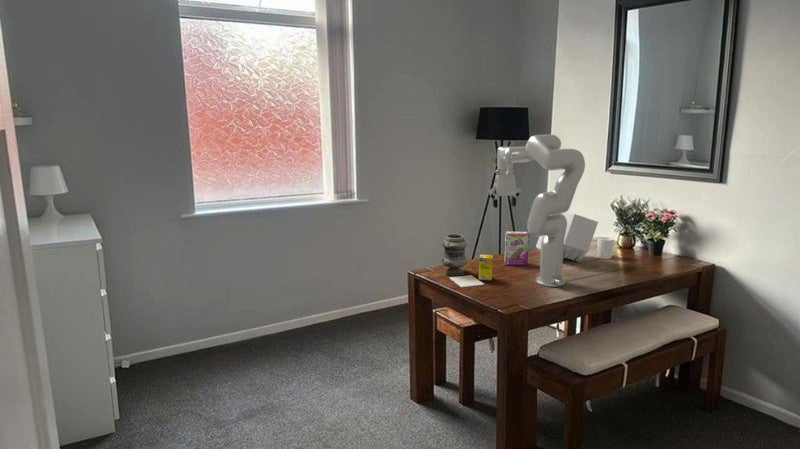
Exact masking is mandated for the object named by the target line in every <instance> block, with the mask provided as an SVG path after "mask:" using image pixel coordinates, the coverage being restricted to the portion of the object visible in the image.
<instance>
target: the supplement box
mask: <svg viewBox="0 0 800 449" xmlns="http://www.w3.org/2000/svg"><path fill="white" fill-rule="evenodd" d="M493 258H494V256H493V254H479V258H478V280H479V281H480V282H492V279H493V263H494V262H493V260H494V259H493Z"/></svg>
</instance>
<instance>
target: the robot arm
mask: <svg viewBox="0 0 800 449" xmlns="http://www.w3.org/2000/svg"><path fill="white" fill-rule="evenodd" d="M561 147H562V141H561V139H560V138H559V137H558V135H554V134H536V135H532V136H530V137H529V139H528V140H527V143H526V145H523V146H499V147H498V148H497V152H496V153H497V157H496V158H497V160H496V163H497V164H496V165H497V168H496V169H495V170H494V173H495V174H496V175H495V179H494V184H493V187H492V188H490V189H489V190H487V193H488V194H489V196H490V198H491V199H492V205H493V208H496V209H497V208H498V207H499V206H498V205H499V202H498V201H499V200H498V198H499V197H505V196H506V197H509V196H511V202H510V204H511V207H516V205H517V199H518V197H519V195H520V193H521V192H522V189H521V188H520V187H517V184H516V177H515V176H516V175H515V174H514V164H517V163H519V164H520V163H530V162H533V161H536V162H537V163H538V164H539V165H540V167H541V168H543V169H544V170H546V171H562V170H564V171H563V172H562V173H561V175H559V177H558V178H557V180H556V183H555V186H554V188H553V190H551V191H546V192H540V193H539V194H538V195H536V197H535V198H534V199H533V202H532V206H531V208H530V212H529V216H528V219H527V225H526V228H527V232H528V233H529V235H531V236H532V237H538V238H539V237H540V236H544V237H543V239H542V242H541V250H540V256H539V257H540V262H539V277H536V278H535V283H537V284H538V285H540V286H545V287H551V288H553V287H554V288H555V287H563V286H564V285H565V284H566V279H564V277H563V262H564V259H563V246H564V237H565V232H566V228H567V220H566V217H565V216H564V215H563V214H561V213H564V212H568V211H569V209H570V207H571V205H572V202H573V200H574V196H575V194H576V190H577V188H578V185H579V183H580V181H581V179H582V177H583V174H584V172H585V169H586V160H585V157H584V155H583V153H582V152H581V151H580V150H578V149H574V148H561Z"/></svg>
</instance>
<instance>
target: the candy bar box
mask: <svg viewBox="0 0 800 449" xmlns="http://www.w3.org/2000/svg"><path fill="white" fill-rule="evenodd" d="M529 238H530V233H529V232H528V231H505V239H504V240H505V241H504V265H505V266H525V267H527V266H529V265H528V264H529V263H528V260H529V245H530V244H529V241H530V240H529Z"/></svg>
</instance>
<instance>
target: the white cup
mask: <svg viewBox="0 0 800 449" xmlns="http://www.w3.org/2000/svg"><path fill="white" fill-rule="evenodd" d="M614 241H615V238H613V237H611V236H610V237H608V236H600V237H599V236H598V237H597V250H596V251H597V258H598V259H602V258H603V260H610V259H612V256H613V249H614V243H615V242H614Z"/></svg>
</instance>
